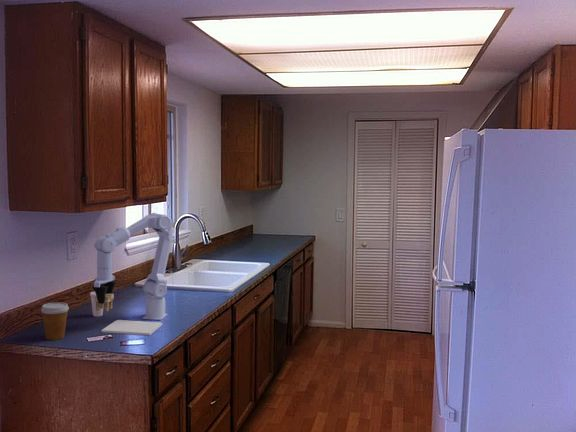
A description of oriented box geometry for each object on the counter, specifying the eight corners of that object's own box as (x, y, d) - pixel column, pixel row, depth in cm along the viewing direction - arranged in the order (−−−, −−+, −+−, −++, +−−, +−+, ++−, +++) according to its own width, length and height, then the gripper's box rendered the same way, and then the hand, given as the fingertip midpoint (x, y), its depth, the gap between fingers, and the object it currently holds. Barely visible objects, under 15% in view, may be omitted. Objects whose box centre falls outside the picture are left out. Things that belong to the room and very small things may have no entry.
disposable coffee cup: (36, 336, 205) (36, 304, 204) (62, 332, 211) (62, 300, 210) (46, 343, 198) (46, 309, 197) (73, 338, 204) (73, 305, 203)
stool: (100, 307, 223) (100, 293, 222) (113, 308, 222) (113, 293, 222) (94, 310, 217) (94, 296, 217) (107, 311, 217) (108, 296, 216)
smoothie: (100, 312, 241) (100, 280, 239) (108, 315, 237) (109, 283, 235) (86, 315, 236) (87, 282, 234) (95, 318, 232) (95, 285, 230)
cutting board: (117, 321, 228) (117, 319, 228) (162, 324, 226) (162, 322, 226) (101, 332, 213) (101, 330, 213) (149, 335, 211) (149, 333, 211)
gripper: (102, 263, 226) (102, 296, 227) (86, 270, 212) (86, 305, 213) (119, 264, 225) (119, 297, 227) (104, 271, 211) (104, 306, 212)
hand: (104, 301), depth 220 cm, fingers closed on stool, 5 cm apart
